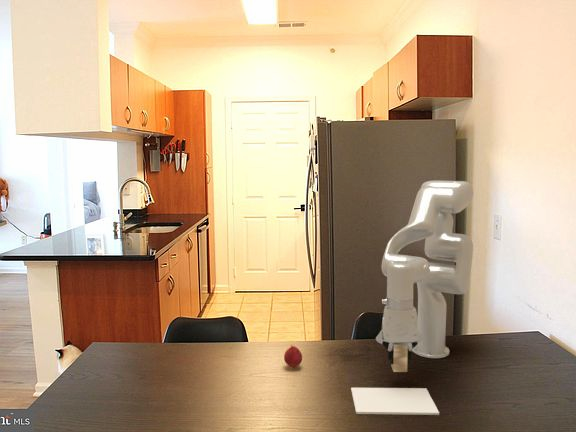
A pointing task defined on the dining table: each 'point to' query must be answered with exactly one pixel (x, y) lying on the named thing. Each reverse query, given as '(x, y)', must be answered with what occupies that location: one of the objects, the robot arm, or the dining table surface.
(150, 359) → the dining table surface
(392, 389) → the mat
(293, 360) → the onion
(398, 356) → the block
